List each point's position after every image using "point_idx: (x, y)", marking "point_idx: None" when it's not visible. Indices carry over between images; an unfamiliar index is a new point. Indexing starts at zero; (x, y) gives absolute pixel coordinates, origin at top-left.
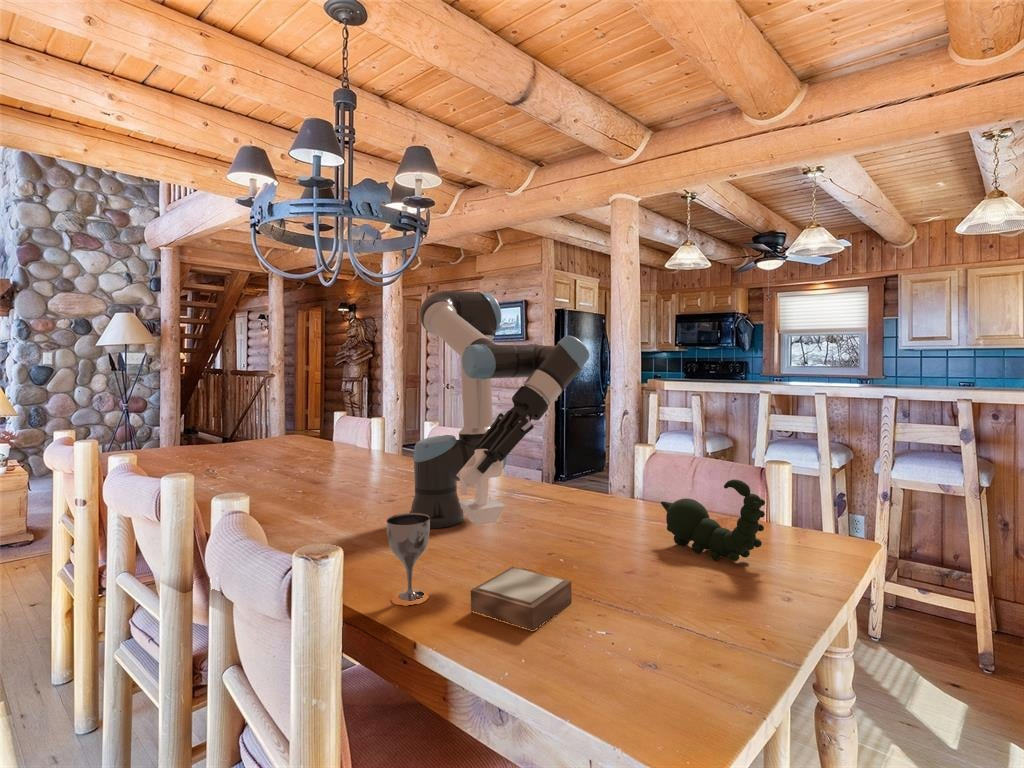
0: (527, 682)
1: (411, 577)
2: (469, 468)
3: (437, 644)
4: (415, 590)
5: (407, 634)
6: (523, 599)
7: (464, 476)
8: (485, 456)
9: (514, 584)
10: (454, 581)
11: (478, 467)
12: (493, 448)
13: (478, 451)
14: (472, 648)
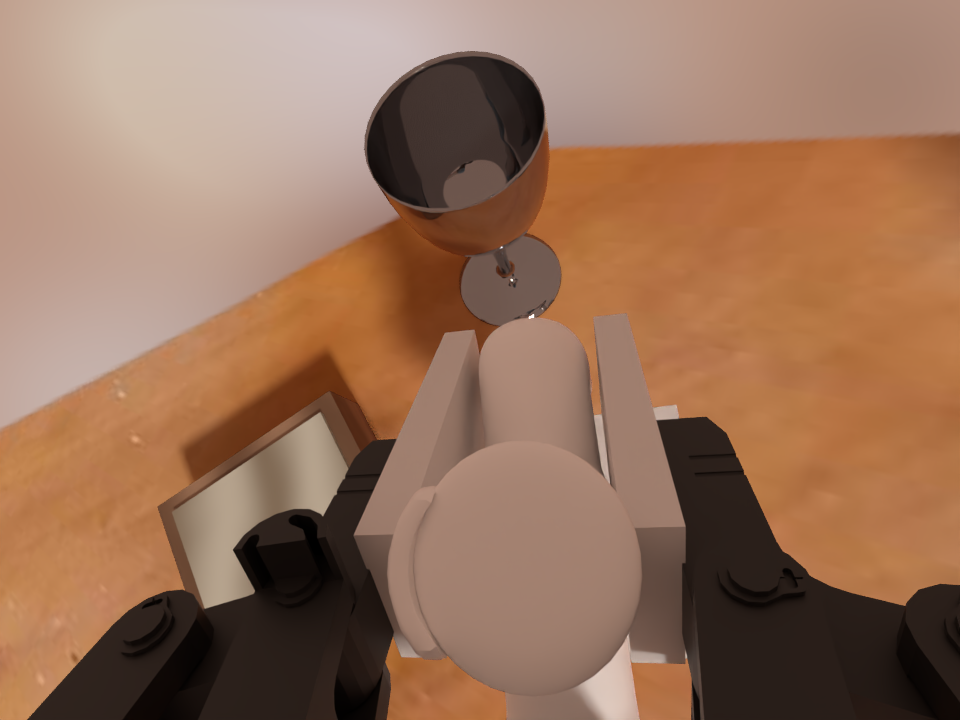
0: (83, 418)
1: (493, 255)
2: (494, 385)
3: (268, 301)
4: (537, 293)
5: (334, 253)
6: (197, 501)
7: (460, 341)
8: (368, 550)
9: None
10: None
11: (391, 448)
12: (218, 688)
13: (449, 476)
14: (220, 361)
